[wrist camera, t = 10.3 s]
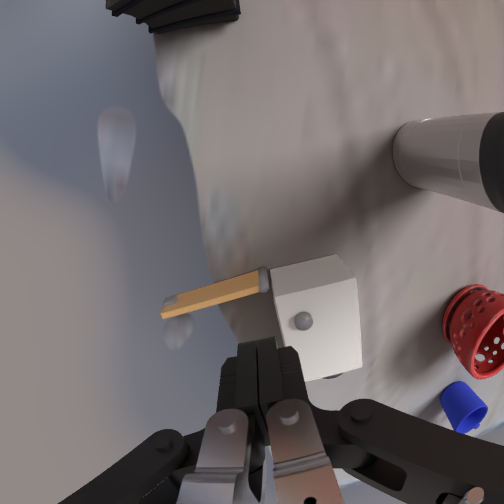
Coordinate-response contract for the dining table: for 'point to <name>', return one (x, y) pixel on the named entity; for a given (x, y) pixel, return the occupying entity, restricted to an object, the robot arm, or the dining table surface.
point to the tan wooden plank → (216, 293)
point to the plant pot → (476, 329)
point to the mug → (463, 407)
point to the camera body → (319, 315)
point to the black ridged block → (176, 12)
